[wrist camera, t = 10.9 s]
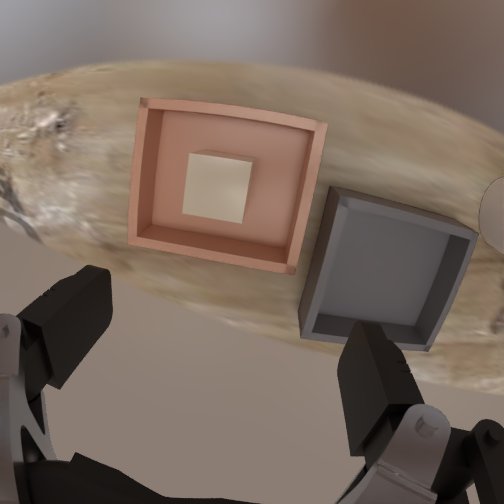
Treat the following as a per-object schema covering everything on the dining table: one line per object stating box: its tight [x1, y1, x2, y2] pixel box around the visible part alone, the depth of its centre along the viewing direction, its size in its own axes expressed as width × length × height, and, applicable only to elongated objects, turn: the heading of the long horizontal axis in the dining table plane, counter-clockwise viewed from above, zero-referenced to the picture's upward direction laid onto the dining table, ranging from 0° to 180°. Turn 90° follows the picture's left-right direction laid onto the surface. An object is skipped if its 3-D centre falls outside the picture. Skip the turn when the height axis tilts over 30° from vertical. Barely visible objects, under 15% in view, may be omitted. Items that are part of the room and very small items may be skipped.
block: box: [182, 150, 256, 224], centre depth 23 cm, size 4×4×5 cm
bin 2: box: [298, 186, 479, 352], centre depth 26 cm, size 14×13×4 cm
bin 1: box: [128, 98, 328, 275], centre depth 24 cm, size 14×12×4 cm
